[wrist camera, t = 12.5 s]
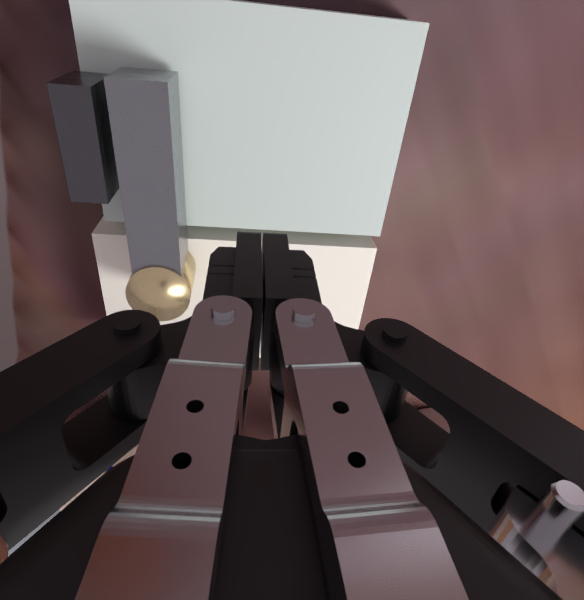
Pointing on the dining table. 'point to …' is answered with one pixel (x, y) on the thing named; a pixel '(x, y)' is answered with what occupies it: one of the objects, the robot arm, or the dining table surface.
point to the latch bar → (151, 188)
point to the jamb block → (205, 240)
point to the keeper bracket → (84, 136)
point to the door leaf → (270, 105)
